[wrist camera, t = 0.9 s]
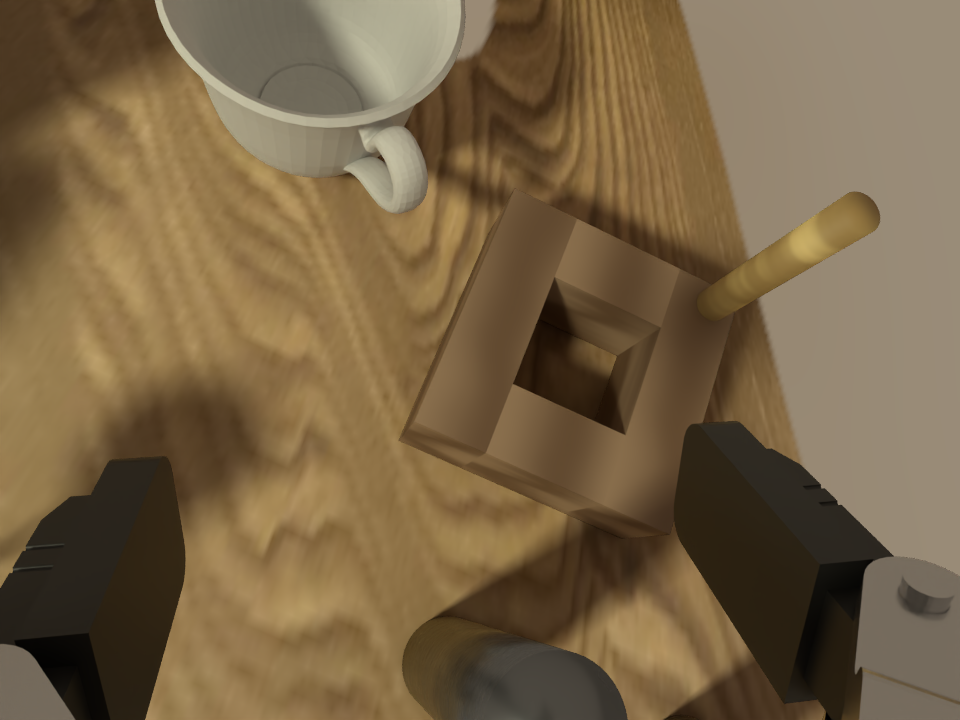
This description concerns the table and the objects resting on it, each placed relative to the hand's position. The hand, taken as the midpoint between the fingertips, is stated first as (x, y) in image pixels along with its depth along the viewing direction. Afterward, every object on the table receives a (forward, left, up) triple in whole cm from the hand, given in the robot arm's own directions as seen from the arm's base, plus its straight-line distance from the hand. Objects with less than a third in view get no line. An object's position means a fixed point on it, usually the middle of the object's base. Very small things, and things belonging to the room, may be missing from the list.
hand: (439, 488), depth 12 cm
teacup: (-15, +12, -24) cm, 31 cm away
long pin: (+7, 0, -24) cm, 25 cm away
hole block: (+1, +13, -24) cm, 27 cm away
